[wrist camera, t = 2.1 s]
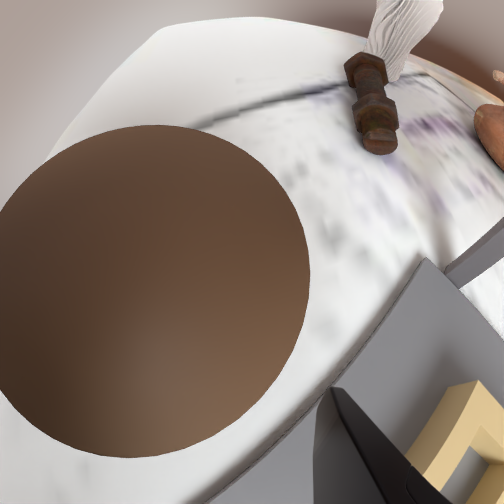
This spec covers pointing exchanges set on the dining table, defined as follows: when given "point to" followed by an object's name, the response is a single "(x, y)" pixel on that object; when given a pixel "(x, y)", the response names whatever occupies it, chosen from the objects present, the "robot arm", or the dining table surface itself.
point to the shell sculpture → (400, 30)
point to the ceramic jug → (492, 126)
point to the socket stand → (414, 393)
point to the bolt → (372, 103)
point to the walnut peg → (147, 290)
